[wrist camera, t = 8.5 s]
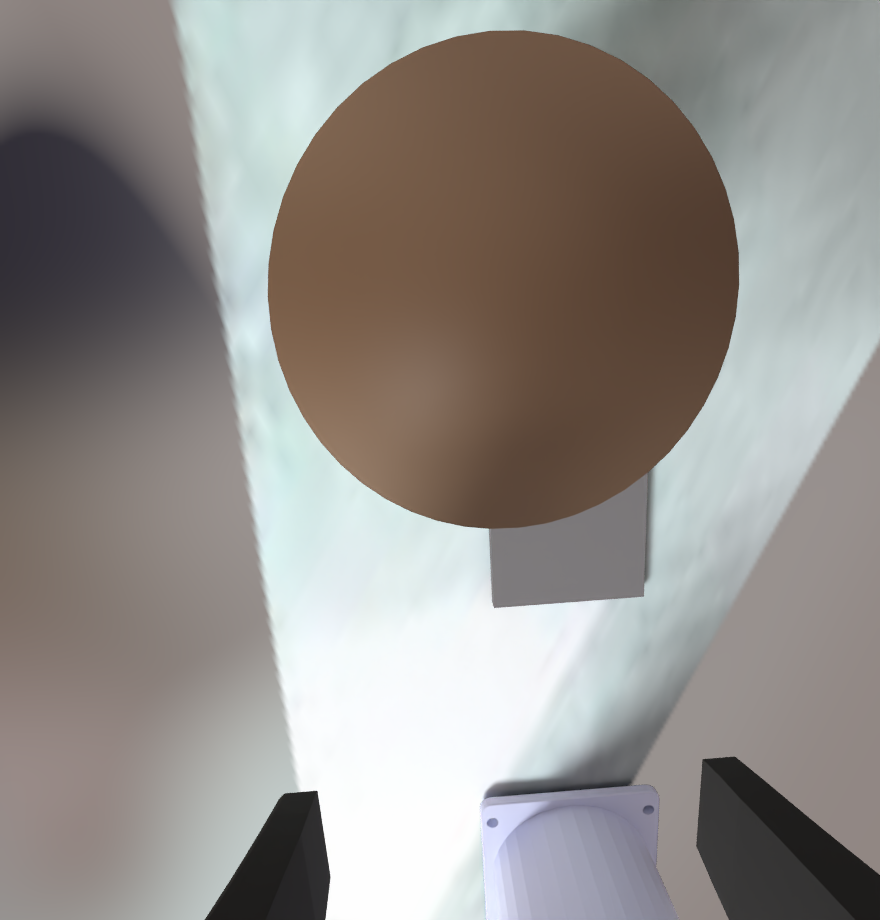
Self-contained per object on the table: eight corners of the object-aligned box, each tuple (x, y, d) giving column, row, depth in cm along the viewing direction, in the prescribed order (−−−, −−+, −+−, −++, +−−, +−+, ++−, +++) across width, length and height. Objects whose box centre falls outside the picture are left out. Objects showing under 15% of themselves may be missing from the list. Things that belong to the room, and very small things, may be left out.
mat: (638, 590, 19) (643, 596, 19) (492, 601, 19) (494, 607, 19) (643, 420, 18) (649, 423, 17) (484, 432, 18) (486, 434, 17)
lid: (627, 455, 9) (729, 506, 6) (347, 483, 9) (307, 548, 6) (626, 139, 8) (751, 7, 5) (301, 169, 8) (225, 55, 5)
